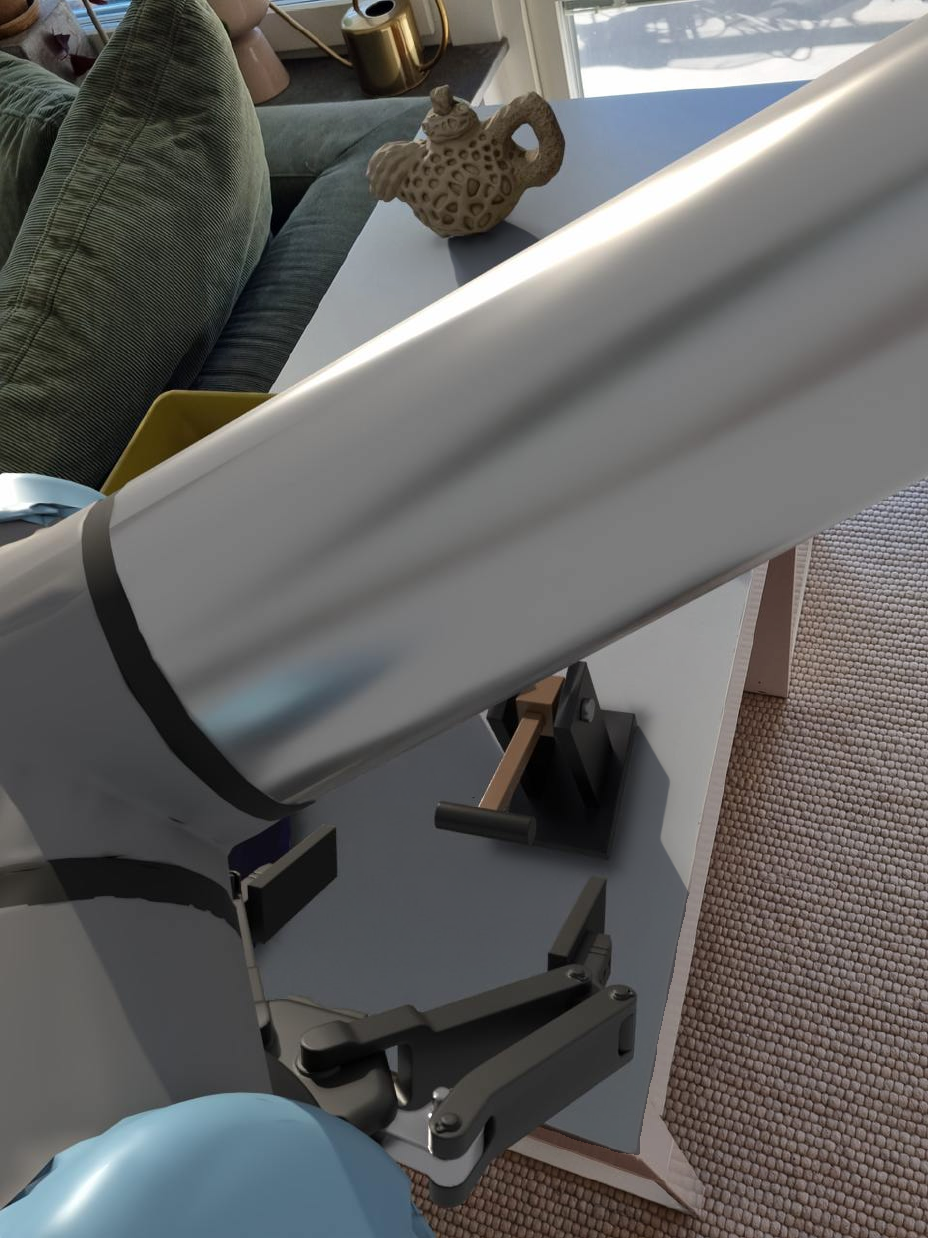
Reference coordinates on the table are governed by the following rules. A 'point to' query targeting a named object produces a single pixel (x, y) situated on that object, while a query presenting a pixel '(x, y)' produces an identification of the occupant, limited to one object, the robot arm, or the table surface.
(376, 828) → the table surface
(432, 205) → the teapot
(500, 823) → the switch lever
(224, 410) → the flower pot
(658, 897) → the table surface
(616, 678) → the table surface
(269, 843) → the computer mouse
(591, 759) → the switch bracket
